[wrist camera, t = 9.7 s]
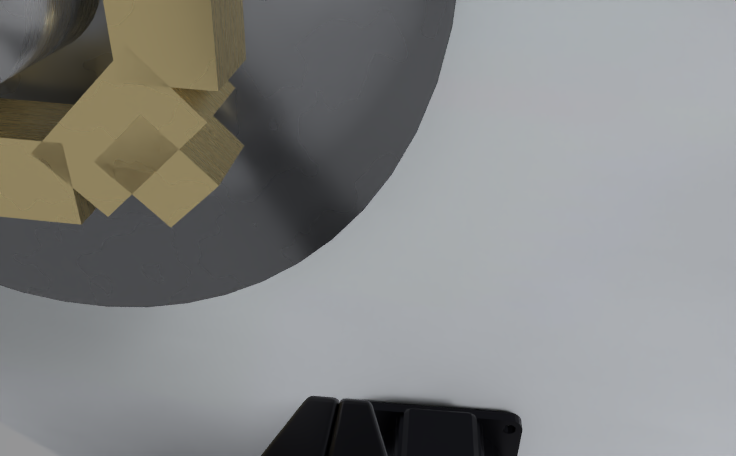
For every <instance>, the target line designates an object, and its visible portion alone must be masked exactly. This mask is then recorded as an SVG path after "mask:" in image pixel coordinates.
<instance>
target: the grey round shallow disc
mask: <svg viewBox="0 0 736 456" xmlns="http://www.w3.org/2000/svg"><path fill="white" fill-rule="evenodd" d="M455 3H456V0H243V15H244V33H245V50H246V60H245V61H244V62H243V64H242V65H241V66H240V67H239V68H238V69H237V70H236V72H235V73H234V74H233V75H232V76H231V77H230V79H229V80H228V81H229V82H230V83H231V84H232V85H233V86H234V87H235V89H234V90H233V91H232V93H231V94H230V95H229V96H228V98H227V99H226V100H225V101H224V103H223V104H222V105H221V106H220V108H219V109H218V110H217V111H216V113H215V114H214V115H213V116H214V117H215V118H216V119H217V120H218V121H219V122H220V123H221V124H223V125H224V126H225V127H226V128H227V129H228V130H229V131H230V132H231V133H232V134H233V135H234V136H235V137H236V138H237V139H238V140H239V141H240V142H241V143H242V144H243V145H244V147H243V148H242V150H241V152H240V153H239V155H238V156H237V158H236V160H235V161H234V163H233V164H232V166H231V167H230V169H229V171H228V172H227V174H226V175H225V177H224V179H223V180H222V182H221V183H220V185H219V186H218V187H217V188H216V189H215V190H214V191H212V192H211V193H210V194H209V195H208V196H207V197H205V198H204V199H203V200H202V201H201V202H200V203H199V204H197V205H196V206H195V207H194V208H193V209H192V210H191V211H189V212H188V213H187V214H186V215H185V216H184V217H183V218H181V219H180V220H179V221H178V222H177V223H176V224H174V225H173V226H172V227H170V226H168V225H167V224H166V223H165V222H164V221H163V220H161V219H160V218H159V217H158V216H157V215H156V214H154V213H153V212H152V211H151V210H150V209H149V208H147V207H146V206H145V205H144V204H143V203H142V202H140V201H139V200H138V199H137V198H136V197H134V196H133V195H131V196H130V197H129V198H127V199H126V200H125V201H124V202H123V203H122V204H121V205H120V206H119V207H118V208H117V209H116V210H115V211H114V212H113V213H112V214H111V215H110V216H109V217H107V216H106V215H105V214H104V213H103V212H101V211H100V210H99V209H98V208H96V209H95V210H94V211H93V213H92V214H91V215H90V216H89V217H88V218H87V219H86V220H85V221H84V222H83V223H82V225H80V224H70V223H60V222H49V221H39V220H29V219H19V218H9V217H0V285H2V286H5V287H8V288H11V289H14V290H17V291H21V292H24V293H28V294H33V295H38V296H42V297H47V298H51V299H56V300H61V301H65V302H74V303H82V304H90V305H99V306H112V307H152V306H163V305H173V304H183V303H190V302H194V301H199V300H203V299H208V298H213V297H217V296H222V295H226V294H229V293H232V292H234V291H237V290H240V289H243V288H246V287H248V286H251V285H254V284H257V283H260V282H262V281H264V280H266V279H268V278H270V277H272V276H274V275H276V274H278V273H280V272H282V271H284V270H286V269H288V268H290V267H292V266H294V265H296V264H297V263H299V262H301V261H302V260H303V259H305V258H306V257H308V256H309V255H310V254H312V253H313V252H315V251H316V250H318V249H319V248H320V247H322V246H323V245H325V244H326V243H328V242H329V241H330V240H332V239H333V238H334V237H335V236H336V235H337V234H338V233H339V232H340V231H341V230H342V229H344V228H345V227H346V226H347V225H348V224H349V223H350V222H351V221H352V220H353V219H354V218H355V217H356V216H357V215H358V214H359V213H361V212H362V211H363V210H364V208H365V207H366V206H367V205H368V203H369V202H370V201H371V200H372V198H373V197H374V196H375V195H376V193H377V192H378V191H379V190H380V188H381V187H382V186H383V185H384V183H385V182H386V181H387V180H388V178H389V177H390V176H391V175H392V173H393V171H394V170H395V168H396V166H397V164H398V163H399V161H400V159H401V158H402V156H403V154H404V153H405V151H406V149H407V148H408V146H409V144H410V142H411V141H412V139H413V137H414V136H415V134H416V132H417V130H418V128H419V125H420V123H421V120H422V118H423V116H424V113H425V111H426V108H427V106H428V104H429V101H430V99H431V96H432V94H433V92H434V89H435V87H436V84H437V82H438V78H439V74H440V70H441V67H442V63H443V59H444V55H445V52H446V48H447V44H448V40H449V37H450V33H451V29H452V25H453V17H454V10H455ZM112 61H113V56H112V50H111V44H110V38H109V33H108V27H107V21H106V15H105V9H104V4H103V0H0V98H4V99H16V100H27V101H39V102H50V103H61V104H73V105H74V104H75V103H76V102H77V101H78V100H79V99H80V98H81V97H82V95H83V94H84V93H85V92H86V91H87V90H88V89H89V88H90V86H91V85H92V84H93V83H94V82H95V81H96V80H97V78H98V77H99V76H100V75H101V74H102V73H103V72H104V71H105V69H106V68H107V67H108V66H109V65H110V64H111V63H112Z"/></svg>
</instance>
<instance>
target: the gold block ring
mask: <svg viewBox="0 0 736 456" xmlns="http://www.w3.org/2000/svg"><path fill="white" fill-rule="evenodd" d="M103 4H104V9H105V15H106V21H107V27H108V33H109V38H110V44H111V50H112V56H113V61H112V63H111V64H110V65H109V66H108V67H107V68H106V69H105V71H104V72H103V73H102V74H101V75H100V76H99V77H98V78H97V80H96V81H95V82H94V83H93V84H92V85H91V86H90V88H89V89H88V90H87V91H86V92H85V93H84V94H83V95H82V97H81V98H80V99H79V100H78V101H77V102H76V103H75V104H74V105H73V104H61V103H50V102H39V101H27V100H16V99H4V98H0V217H9V218H19V219H29V220H39V221H49V222H60V223H70V224H80V225H82V223H83V222H84V221H85V220H86V219H87V218H88V217H89V216H90V215H91V214H92V213H93V211H94V210H95V209H96V208H98V209H99V210H100V211H101V212H103V213H104V214H105V215H106V216H107V217H109V216H110V215H111V214H112V213H113V212H114V211H115V210H116V209H117V208H118V207H119V206H120V205H121V204H122V203H123V202H124V201H125V200H126V199H127V198H129V197H130V196H131V195H133V196H134V197H136V198H137V199H138V200H139V201H140V202H142V203H143V204H144V205H145V206H146V207H147V208H149V209H150V210H151V211H152V212H153V213H154V214H156V215H157V216H158V217H159V218H160V219H161V220H163V221H164V222H165V223H166V224H167V225H168V226H170V227H172V226H173V225H174V224H176V223H177V222H178V221H179V220H180V219H181V218H183V217H184V216H185V215H186V214H187V213H188V212H189V211H191V210H192V209H193V208H194V207H195V206H196V205H197V204H199V203H200V202H201V201H202V200H203V199H204V198H205V197H207V196H208V195H209V194H210V193H211V192H212V191H214V190H215V189H216V188H217V187H218V186H219V185H220V183H221V182H222V180H223V179H224V177H225V175H226V174H227V172H228V171H229V169H230V167H231V166H232V164H233V163H234V161H235V160H236V158H237V156H238V155H239V153H240V152H241V150H242V148H243V147H244V145H243V144H242V143H241V142H240V141H239V140H238V139H237V138H236V137H235V136H234V135H233V134H232V133H231V132H230V131H229V130H228V129H227V128H226V127H225V126H224V125H223V124H221V123H220V122H219V121H218V120H217V119H216V118H215V117H214V116H213V115H214V114H215V113H216V111H217V110H218V109H219V108H220V106H221V105H222V104H223V103H224V101H225V100H226V99H227V98H228V96H229V95H230V94H231V93H232V91H233V90H234V89H235V87H234V86H233V85H232V84H231V83H230V82H229V81H228V80H229V79H230V77H231V76H232V75H233V74H234V73H235V72H236V70H237V69H238V68H239V67H240V66H241V65H242V64H243V62H244V61H245V60H246V50H245V33H244V15H243V0H103Z"/></svg>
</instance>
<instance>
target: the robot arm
mask: <svg viewBox="0 0 736 456" xmlns="http://www.w3.org/2000/svg"><path fill="white" fill-rule="evenodd" d="M507 425H510V426H507ZM521 434H522V424H521V419H520V417H519V416H518V415H516V414H513V413H507V412H494V411H481V410H468V409H455V408H443V407H430V406H417V405H404V404H391V403H378V402H370V401H368V400H359V399H342V400H341V401H340V403H339V400H338V399H336V398H333V397H320V396H311V397H308V398H307V399H306V400H305V401H304V402H303V403H302V405H301V406H300V407H299V408H298V410H297V411H296V412H295V413H294V415H293V416H292V417H291V419H290V420H289V421H288V422H287V424H286V425H285V426H284V427H283V429H282V430H281V431H280V432H279V434H278V435H277V436H276V437H275V439H274V440H273V441H272V442H271V444H270V445H269V446H268V447H267V449H266V450H265V451H264V452H263V454H262V455H261V456H517V454H518V449H519V444H520V439H521Z"/></svg>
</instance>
